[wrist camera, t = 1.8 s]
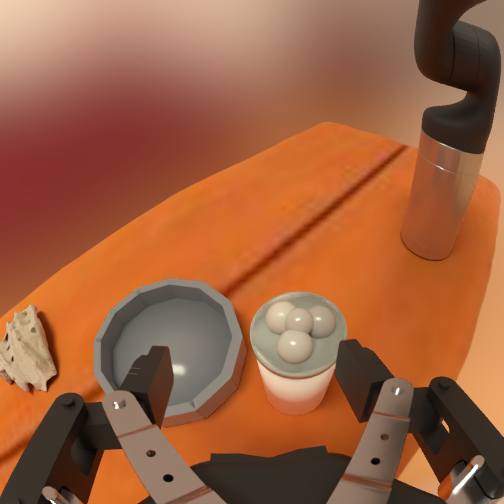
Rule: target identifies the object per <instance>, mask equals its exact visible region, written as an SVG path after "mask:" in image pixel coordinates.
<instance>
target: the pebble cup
mask: <svg viewBox="0 0 504 504" xmlns="http://www.w3.org/2000/svg"><path fill="white" fill-rule="evenodd" d="M346 339H347V326H346V322H345V319H344V317H343V315H342V313H341V312H340V310H339V309H338V308H337V307H336V306H335V305H334V304H333V303H332V302H331V301H329V300H328V299H326V298H324V297H322V296H320V295H317V294H314V293H309V292H290V293H285V294H282V295H279V296H276V297H274V298H273V299H271V300H269V301H268V302H266V303H265V304H264V305H263V306H262V307H261V308H260V309H259V310H258V311H257V313H256V314H255V316H254V318H253V320H252V323H251V328H250V340H251V344H252V348H253V351H254V354H255V356H256V358H257V362H258V365H259V369H260V373H261V377H262V381H263V385H264V388H265V392H266V396H267V399H268V401H269V403H270V404H271V406H272V407H273V408H274V409H276V410H277V411H278V412H280V413H282V414H285V415H290V416H300V415H304V414H307V413H309V412H311V411H313V410H314V409H315V408H317V407H318V406H319V404H320V403H321V402H322V400H323V398H324V395H325V393H326V390H327V388H328V385H329V383H330V380H331V378H332V375H333V372H334V370H335V365H336V359H337V353H338V346H339V342H340V341H341V340H346Z"/></svg>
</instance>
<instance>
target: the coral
mask: <svg viewBox="0 0 504 504" xmlns="http://www.w3.org/2000/svg"><path fill="white" fill-rule="evenodd" d="M36 311H37V307H36V306H35V305H29V306H28V308H27V309H25V310H23V311H22V312H14V316H15V317H14V321H13V322H11V323H10V322H9V321H8V323H6V326H7V331H6V334H5V337H4V339H3V340H2V341H1V342H0V376H1V377H2V378H4V379H5V380H6V381H7V382H8V383H9V384H11V383H12V380H14V381H15V382H16V383H17V385H19V386H20V387H21V388H22V389H23V390H24V391H26V392H29V387H28V384H29V383H31V384H33V386H34V387H35V389H37V390H43V391H47V386H46V382H47V380H49V379H50V378H51V377H52V376H54V375H56V373H57V371H56V368H55V365H54V363H53V360H52V357H51V355H50V352H49V350H48V343H47V340H46V336H45V331H44V329H43V326H42V324H41V322H40V319H39V316H38V314H37V313H36ZM8 348H9V350H8ZM7 350H8V351H7ZM12 358H13V359H14V361H12Z"/></svg>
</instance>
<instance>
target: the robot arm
mask: <svg viewBox="0 0 504 504" xmlns="http://www.w3.org/2000/svg"><path fill="white" fill-rule="evenodd" d="M484 1H486V0H419V8H418V15H417V21H416V30H415V38H414V53H415V59H416V63H417V66H418V68H419V70H420V71H421V73H422V74H423V75H424V76H425V77H427V78H429V79H431V80H433V81H435V82H438V83H441V84H445V85H448V86H452V87H455V88H458V89H462V90H464V91H467V94H466V96H465V98H464V99H463V100H461V101H460V102H457V103H454V104H451V105H445V106H434V107H430V108H427V109H426V110H425V111H424V113H423V118H422V129H421V135H420V142H419V150H418V156H417V162H416V167H415V173H414V178H413V183H412V188H411V192H410V197H409V201H408V206H407V209H406V213H405V217H404V221H403V225H402V229H401V238H402V241H403V242H404V244H405V245H406V246H407V247H408V249H409V250H411V251H412V252H413V253H415V254H416V255H418V256H420V257H423V258H425V259H429V260H442V259H444V258H446V257H447V256H449V254H450V253H451V250H452V248H453V246H454V243H455V241H456V239H457V236H458V234H459V231H460V229H461V226H462V224H463V221H464V218H465V216H466V213H467V210H468V207H469V204H470V201H471V198H472V195H473V192H474V189H475V185H476V182H477V178H478V175H479V171H480V167H481V163H482V159H483V155H484V151H485V147H486V143H487V140H488V137H489V134H490V131H491V128H492V123H493V118H494V112H495V107H496V101H497V95H498V89H499V83H500V75H501V55H500V49H499V46H498V43H497V41H496V39H495V37H494V36H493V35H492V34H491V33H490V32H488V31H486V30H484V29H482V28H479V27H477V26H474V25H471V24H468V23H466V22H462V21H459V20H458V19H459V18H460V17H461V16H462V15H463V14H464V13H465V12H466V11H467V10H468V9H470V8H472V7H474V6H475V5H477V4H479V3H482V2H484ZM335 375H336V379H337V381H338V383H339V384H340V386H341V388H342V390H343V392H344V394H345V396H346V398H347V400H348V402H349V404H350V406H351V408H352V410H353V412H354V414H355V416H356V417H357V419H358V421H359V423H362V422H366V421H369V422H368V424H367V426H366V429H365V431H364V433H363V436H362V438H361V440H360V442H359V444H358V447H357V449H356V451H355V453H354V455H353V457H350V456H346V455H343V454H338V453H327V450H326V447H325V446H319V447H312V448H305V449H298V450H295V451H292V452H288V453H285V454H282V455H278V456H275V457H270V458H267V457H259V456H252V455H245V454H215V453H211V459H210V461H206V462H202V463H199V464H196V465H193V466H191V467H189V466H188V465H187V464H186V463H185V461H184V460H183V459H182V458H181V456H180V455H179V454H178V453H177V451H176V450H175V449H174V448H173V446H172V445H171V444H170V442H169V441H168V440H167V438H166V437H165V436H164V434H163V433H162V432H161V426H162V422H163V419H164V415H165V412H166V408H167V405H168V401H169V398H170V395H171V391H172V388H173V384H174V373H173V367H172V361H171V356H170V350H169V347H168V346H155V345H153V346H152V347H151V349H150V351H149V353H148V355H141V356H140V357H139V358H137V359H136V360H135V361H134V363H133V364H132V366H131V368H130V370H129V372H128V374H127V375H126V377H125V379H124V381H123V383H122V385H121V386H120V388H119V390H118V391H113V392H111V393H109V394H107V395H106V396H105V397H104V398H103V400H102V402H94V403H85V402H84V400H83V398H82V397H81V396H80V395H79V394H76V393H65V394H62V395H60V396H59V397H58V398H56V400H55V401H54V403H53V404H52V406H51V407H50V409H49V410H48V412H47V414H46V415H45V417H44V418H43V420H42V422H41V423H40V425H39V427H38V428H37V430H36V431H35V433H34V435H33V437H32V438H31V440H30V442H29V443H28V445H27V447H26V449H25V450H24V452H23V454H22V456H21V458H20V459H19V461H18V463H17V465H16V467H15V469H14V471H13V472H12V474H11V476H10V478H9V480H8V482H7V484H6V486H5V488H4V490H3V492H2V495H1V497H0V504H87V503H88V499H89V496H90V493H91V489H92V486H93V483H94V480H95V477H96V473H97V470H98V467H99V464H100V461H101V458H102V455H103V452H104V450H111V449H123V451H124V453H125V455H126V457H127V458H128V460H129V462H130V464H131V466H132V467H133V469H134V471H135V472H136V474H137V476H138V477H139V479H140V481H141V482H142V484H143V486H144V487H145V489H146V490H147V492H148V493H149V495H150V496H148V497H147V498H145V499H144V500H142V501H141V502H139V503H138V504H496V503H497V502H498V501H499V500H500V499H502V497H504V437H503V436H502V435H501V434H500V432H499V431H498V430H497V429H496V428H495V426H494V425H493V424H492V423H491V422H490V421H489V419H488V418H487V417H486V416H485V415H484V414H483V413H482V411H481V410H480V409H479V408H478V407H477V406H476V405H475V403H474V402H473V401H472V400H471V399H470V398H469V397H468V395H467V394H466V393H465V392H464V391H463V390H462V389H461V388H460V387H459V386H458V384H457V383H456V382H455V381H454V380H452V379H450V378H447V377H436V378H434V379H432V380H431V382H430V385H429V387H422V388H414V387H413V385H412V384H411V383H410V382H409V381H407V380H405V379H402V378H395V377H394V376H393V375H392V374H391V372H390V371H389V370H388V369H387V367H386V366H385V365H384V364H383V362H382V361H381V360H380V359H379V357H378V356H377V355H376V354H375V353H374V352H373V351H372V350H370V349H368V348H366V347H364V348H363V347H362V346H361V345H360V343H359V342H358V341H357V340H356V339H350V340H341V341H340V342H339V346H338V353H337V359H336V365H335ZM443 419H444V421H445V422H446V423H447V425H448V427H449V433H448V431H447V430H446V429H445V427H444V426H443V424H442V421H443ZM407 433H412V434H413V436H414V437H415V439H416V441H417V443H418V444H419V446H420V448H421V450H422V452H423V453H424V455H425V457H426V459H427V460H428V462H429V464H430V466H431V468H432V469H433V471H434V473H435V475H436V477H437V479H438V481H439V483H440V485H439V488H438V496H439V497H438V496H435V495H433V494H430V493H427V492H425V491H422V490H420V489H417V488H415V487H413V486H410V485H408V484H406V483H403V482H401V481H399V480H397V479H395V478H394V476H395V474H396V470H397V467H398V464H399V461H400V458H401V454H402V451H403V447H404V443H405V440H406V436H407Z"/></svg>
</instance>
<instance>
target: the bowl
mask: <svg viewBox="0 0 504 504" xmlns="http://www.w3.org/2000/svg"><path fill="white" fill-rule="evenodd" d="M153 345H155V346H168V347H169V350H170V356H171V361H172V367H173V373H174V384H173V388H172V391H171V395H170V398H169V401H168V405H167V408H166V412H165V415H164V419H163V422H162V427H171V426H176V425H181V424H185V423H190V422H195V421H199V420H203V419H206V418H208V417H209V416H210V415H211V414H212V413H213V412H214V411H215V410H216V409H217V408H218V407H219V406H221V405H222V404H223V403H224V402H225V401H226V400H227V399H228V398H229V397H230V396H231V395H232V394H233V393H234V392H235V391H236V390H237V389H238V386H239V382H240V378H241V374H242V370H243V367H244V363H245V359H246V355H247V348H246V344H245V341H244V338H243V335H242V332H241V329H240V326H239V323H238V320H237V318H236V315H235V312H234V309H233V306H232V303H231V301H230V300H228V299H227V298H225V297H224V296H223V295H221V294H220V293H218V292H217V291H216V290H214V289H213V288H212V287H210V286H209V285H207V284H206V283H205V282H200V281H191V280H183V279H174V278H169V279H166V280H162V281H159V282H156V283H153V284H149V285H146V286H143V287H139V288H138V289H136V290H134V291H133V292H132V293H131V294H129V295H128V296H127V297H126V298H124V299H123V300H122V301H121V302H119V303H118V304H117V305H116V306H114V307H113V308H112V309H111V310H110V311H109V313H108V315H107V317H106V318H105V320H104V322H103V324H102V326H101V328H100V330H99V332H98V334H97V335H96V337H95V339H94V376H95V377H96V379H97V381H98V382H99V384H100V385H101V387H102V389H103V390H104V392H105V393H106V395H107V394H109V393H111V392H113V391H118V390H119V388H120V386H121V385H122V383H123V381H124V379H125V377H126V375H127V374H128V372H129V370H130V368H131V366H132V364H133V363H134V361H135V360H136V359H137V358H139V357H140V356H141V355H148V353H149V351H150V349H151V347H152V346H153Z"/></svg>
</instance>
